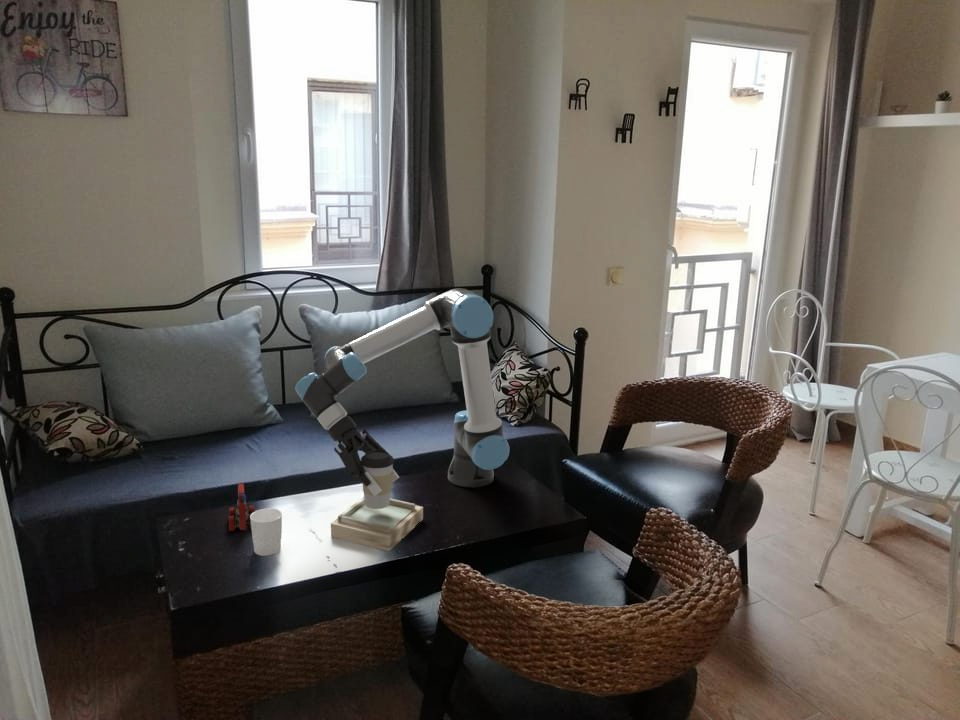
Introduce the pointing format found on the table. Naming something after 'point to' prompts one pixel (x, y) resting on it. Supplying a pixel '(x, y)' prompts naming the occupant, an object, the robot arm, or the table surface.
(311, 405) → the robot arm
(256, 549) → the white cup
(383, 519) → the tray
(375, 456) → the coffee cup
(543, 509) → the table surface
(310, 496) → the table surface
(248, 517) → the toy fire truck
